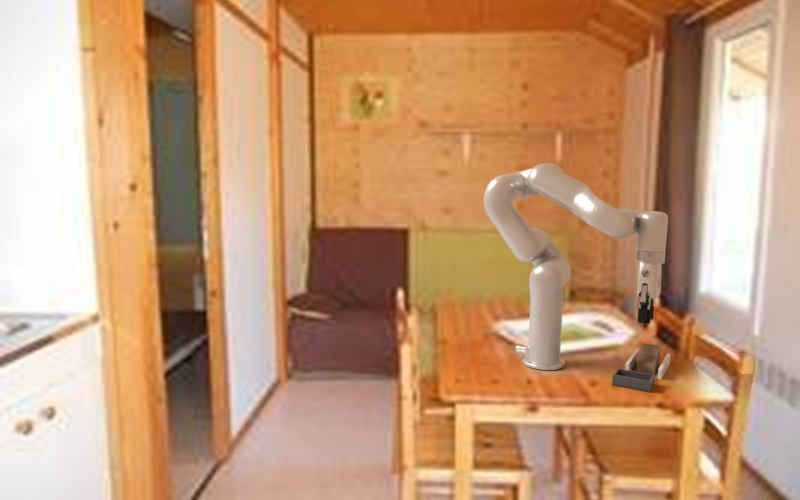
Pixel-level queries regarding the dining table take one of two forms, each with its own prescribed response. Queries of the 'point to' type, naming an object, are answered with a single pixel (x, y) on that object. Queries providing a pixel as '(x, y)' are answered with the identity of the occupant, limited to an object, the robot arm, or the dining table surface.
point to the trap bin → (633, 380)
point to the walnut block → (648, 359)
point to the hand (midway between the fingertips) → (645, 320)
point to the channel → (661, 370)
